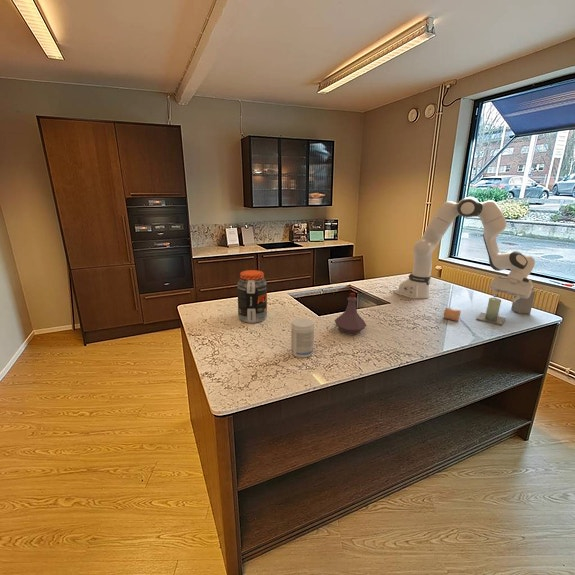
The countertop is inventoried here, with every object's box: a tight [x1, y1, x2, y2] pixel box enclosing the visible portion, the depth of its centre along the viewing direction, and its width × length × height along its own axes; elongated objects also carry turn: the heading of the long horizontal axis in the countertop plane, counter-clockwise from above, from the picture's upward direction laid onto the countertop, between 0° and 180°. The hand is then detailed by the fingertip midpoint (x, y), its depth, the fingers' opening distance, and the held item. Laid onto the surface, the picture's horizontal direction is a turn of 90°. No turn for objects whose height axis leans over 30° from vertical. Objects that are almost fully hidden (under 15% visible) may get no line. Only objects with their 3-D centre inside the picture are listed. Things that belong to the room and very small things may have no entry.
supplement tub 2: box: [290, 317, 315, 358], centre depth 138 cm, size 10×10×15 cm
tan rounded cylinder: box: [443, 307, 462, 322], centre depth 178 cm, size 7×6×6 cm
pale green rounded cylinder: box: [485, 297, 502, 320], centre depth 177 cm, size 6×6×11 cm
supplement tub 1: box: [236, 269, 268, 324], centre depth 173 cm, size 16×16×26 cm
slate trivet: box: [475, 312, 506, 327], centre depth 179 cm, size 12×12×1 cm
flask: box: [334, 292, 368, 336], centre depth 160 cm, size 16×16×20 cm
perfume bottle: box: [510, 286, 536, 314], centre depth 188 cm, size 7×7×18 cm
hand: (503, 299), depth 183 cm, fingers open, 8 cm apart
